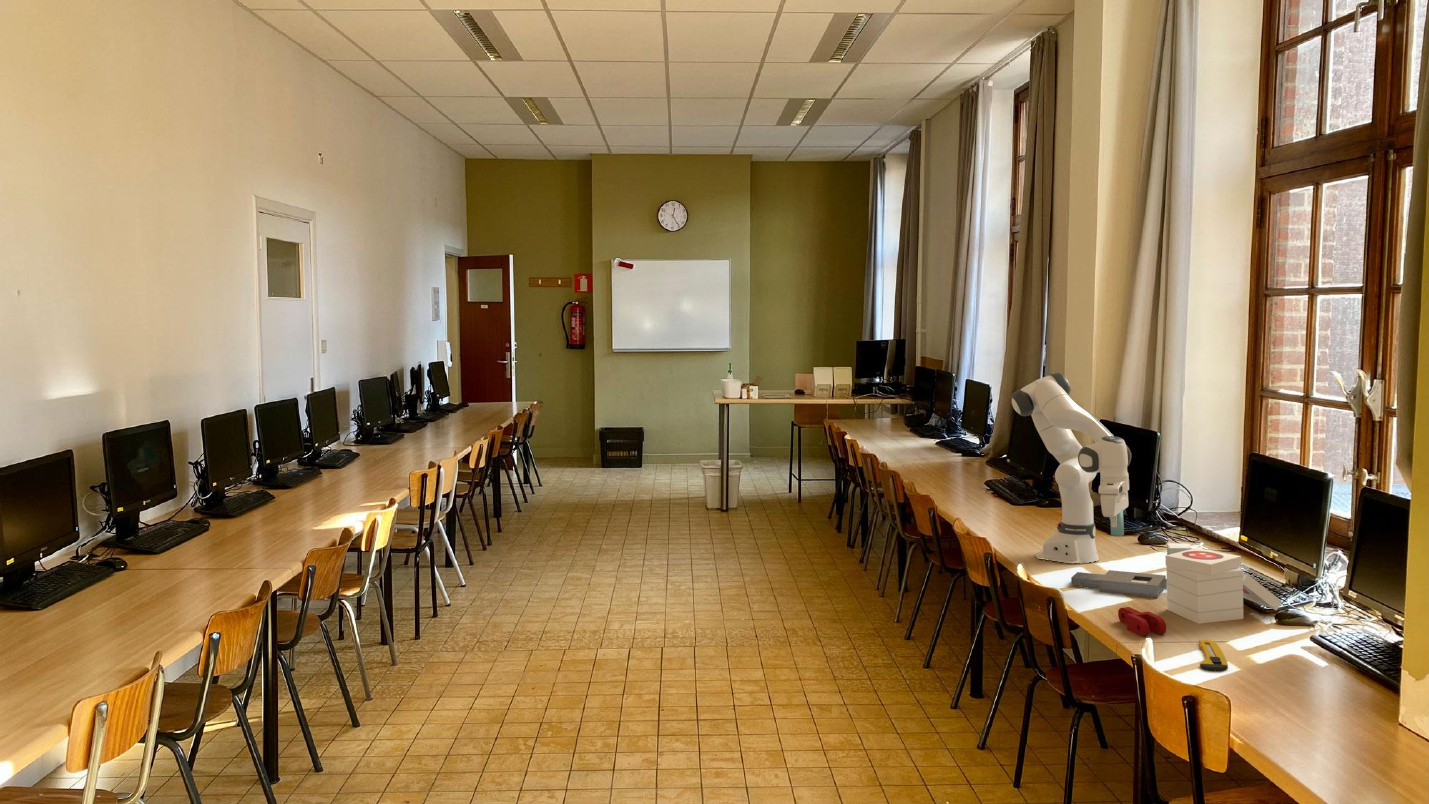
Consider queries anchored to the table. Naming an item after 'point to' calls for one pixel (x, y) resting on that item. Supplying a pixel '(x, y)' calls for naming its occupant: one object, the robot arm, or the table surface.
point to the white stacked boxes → (1211, 586)
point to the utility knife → (1212, 656)
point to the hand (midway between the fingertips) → (1116, 525)
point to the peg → (1120, 528)
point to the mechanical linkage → (1141, 621)
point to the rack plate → (1122, 582)
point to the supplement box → (1177, 547)
